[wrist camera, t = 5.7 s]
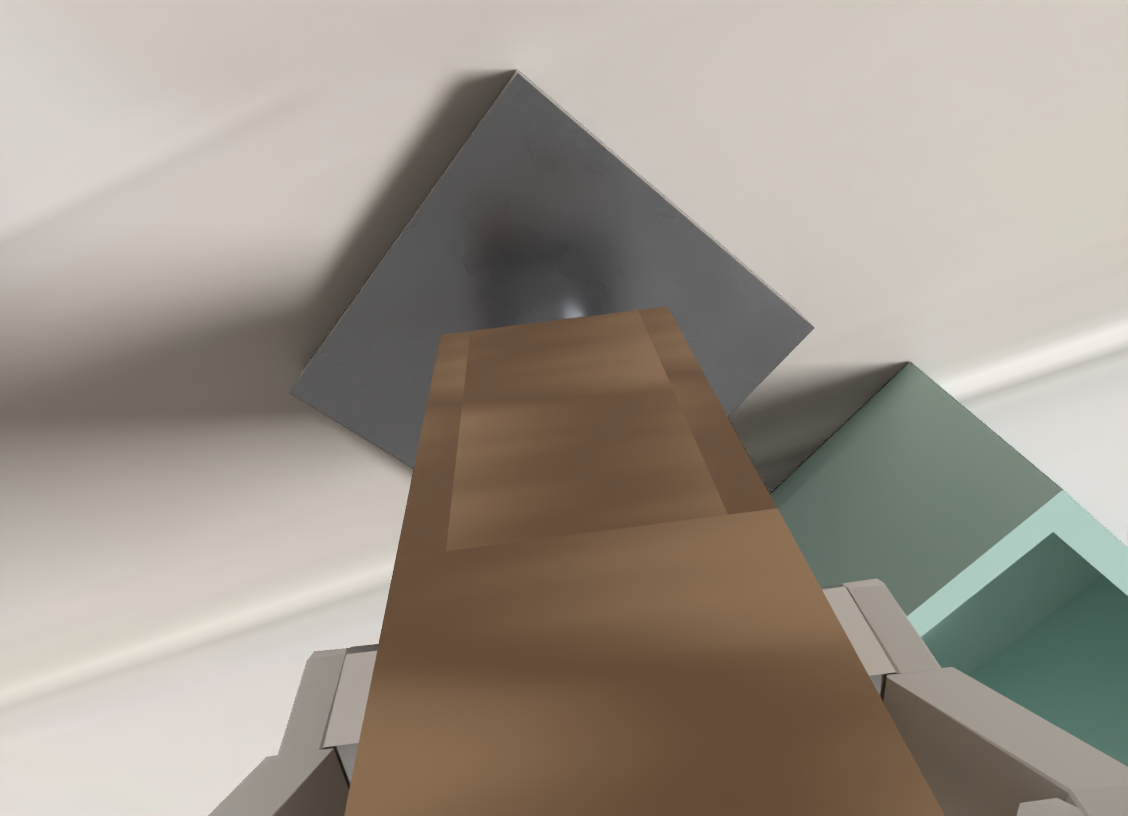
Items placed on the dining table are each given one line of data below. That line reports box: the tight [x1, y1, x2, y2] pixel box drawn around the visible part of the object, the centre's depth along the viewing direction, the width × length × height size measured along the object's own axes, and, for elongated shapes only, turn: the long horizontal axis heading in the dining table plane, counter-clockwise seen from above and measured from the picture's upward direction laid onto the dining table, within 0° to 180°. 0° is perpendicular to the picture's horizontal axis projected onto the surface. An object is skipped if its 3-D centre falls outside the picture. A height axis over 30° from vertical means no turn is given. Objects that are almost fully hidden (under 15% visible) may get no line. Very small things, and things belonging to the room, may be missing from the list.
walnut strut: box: [344, 306, 945, 816], centre depth 11 cm, size 5×5×12 cm
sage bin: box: [770, 362, 1128, 767], centre depth 23 cm, size 12×12×7 cm
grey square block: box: [290, 70, 814, 468], centre depth 18 cm, size 10×10×8 cm
